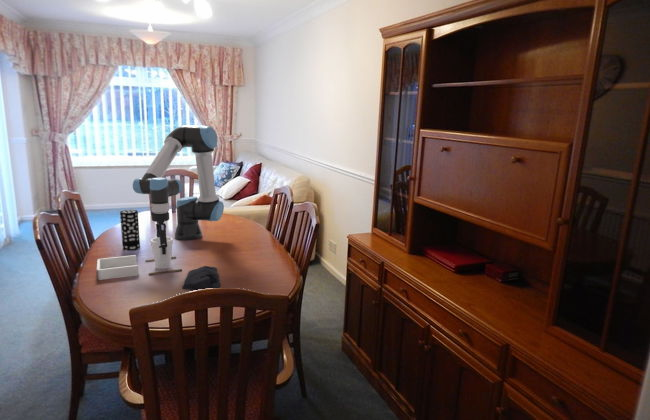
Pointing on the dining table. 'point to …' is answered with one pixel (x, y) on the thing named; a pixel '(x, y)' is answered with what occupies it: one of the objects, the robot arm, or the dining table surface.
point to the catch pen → (117, 267)
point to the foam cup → (157, 255)
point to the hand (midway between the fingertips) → (162, 256)
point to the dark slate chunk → (202, 278)
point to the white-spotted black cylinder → (130, 230)
